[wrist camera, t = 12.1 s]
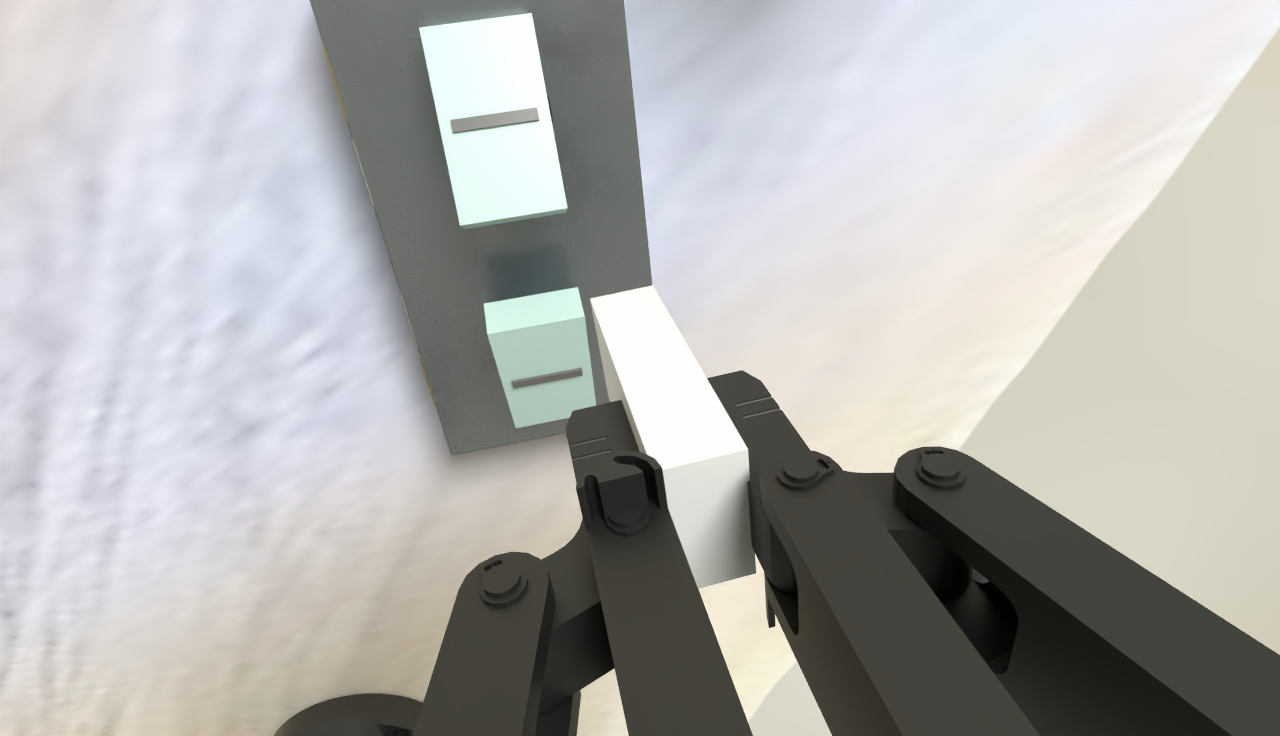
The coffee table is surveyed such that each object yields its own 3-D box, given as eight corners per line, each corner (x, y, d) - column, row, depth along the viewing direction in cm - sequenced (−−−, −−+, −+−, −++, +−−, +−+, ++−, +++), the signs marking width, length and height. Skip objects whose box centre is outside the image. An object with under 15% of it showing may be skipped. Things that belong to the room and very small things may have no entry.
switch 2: (512, 399, 40) (515, 430, 38) (483, 303, 33) (487, 336, 32) (590, 384, 40) (597, 414, 39) (577, 287, 34) (585, 318, 33)
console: (449, 410, 45) (445, 469, 40) (317, -30, 32) (286, -28, 27) (648, 371, 47) (669, 423, 42) (599, -64, 34) (621, -68, 28)
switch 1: (465, 229, 31) (459, 225, 29) (426, 44, 30) (418, 26, 28) (565, 212, 32) (567, 207, 30) (532, 30, 31) (531, 11, 29)
